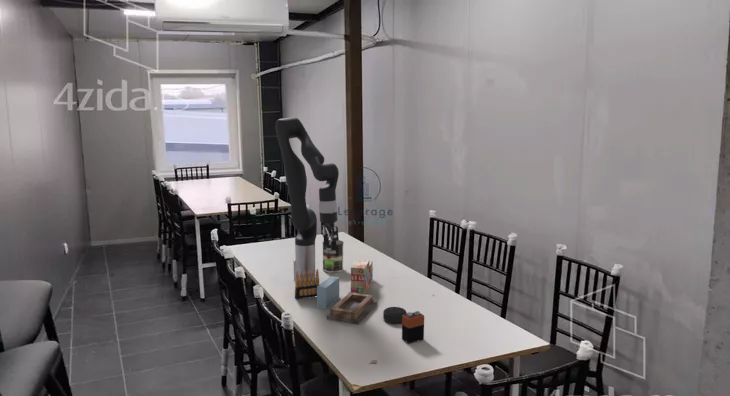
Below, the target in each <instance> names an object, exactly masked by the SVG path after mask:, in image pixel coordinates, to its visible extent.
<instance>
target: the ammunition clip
mask: <svg viewBox="0 0 730 396" xmlns="http://www.w3.org/2000/svg"><path fill="white" fill-rule="evenodd" d="M294 281H295V283H294V284H295V286H294V299H295V300H301V299H307V298H308V299H309V297H310V298H315V296H317V286H318V285H320V276H319V269H318V268H316V269H315V273H314V270H312V278H311V274H310V270H309V271H308V279H307V275H306V270H305V271H304V279H303V275H302V271H300V279H299V276H298V271H297V272H296V280H294Z"/></svg>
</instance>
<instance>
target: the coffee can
mask: <svg viewBox="0 0 730 396" xmlns="http://www.w3.org/2000/svg"><path fill="white" fill-rule="evenodd" d="M336 246H337V249H336V250H331V240H330V239H329V245H327V246H325V245H324V240H323V241H322V271H323V272H325V273H340V272H343V271H344V241H343V240H337V241H336Z"/></svg>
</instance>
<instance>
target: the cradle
mask: <svg viewBox="0 0 730 396" xmlns="http://www.w3.org/2000/svg"><path fill="white" fill-rule="evenodd" d="M377 305H378V300H374V295H372V294H366V293H365V294H358V293H351V291H350V292H348V293H347V294H346V295H345V296H344V297H342V298H341V299H340V301H338V302H337V303H336V304H334V306H332V307H331V308H330V311H329V313H327V315H326V319H327V320H328V321H335V322H340V323H347V324H352V325H353V324H356V325H359V324H360V323H361V322H362V321H363V320H364V319H365V318H366V317H367V316H368V315H369V313H371V311H372V310H374V308H375V307H376V306H377Z"/></svg>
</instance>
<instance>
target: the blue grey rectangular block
mask: <svg viewBox="0 0 730 396" xmlns="http://www.w3.org/2000/svg"><path fill="white" fill-rule="evenodd" d="M339 298H340V277H337V276H329V277H328V278H327V279H325V280H324V281H322V282H321V283H319V285H318V286H317V297H316V308H317V309H322V308H323V310H327V309H328V308H329V307H331V306H332V305H333V304H335V302H336V301H337V300H338V299H339ZM332 303H333V304H332Z"/></svg>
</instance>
